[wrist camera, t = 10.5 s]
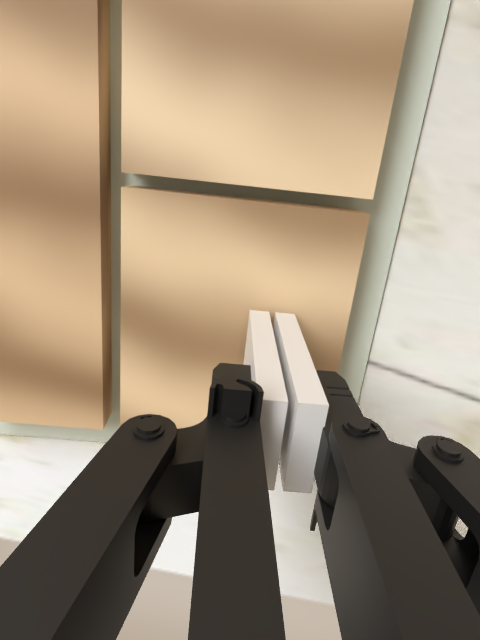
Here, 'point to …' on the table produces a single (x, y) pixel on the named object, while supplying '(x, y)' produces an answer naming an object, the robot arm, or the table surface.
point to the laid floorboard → (55, 213)
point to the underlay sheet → (382, 209)
